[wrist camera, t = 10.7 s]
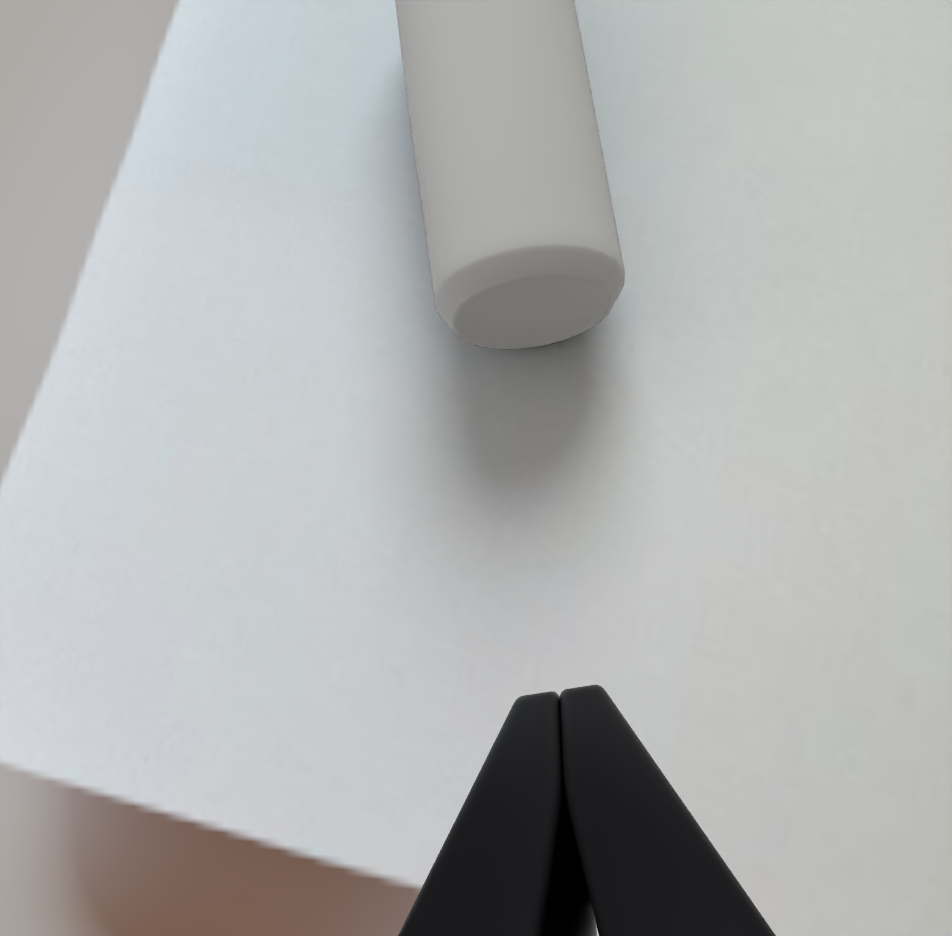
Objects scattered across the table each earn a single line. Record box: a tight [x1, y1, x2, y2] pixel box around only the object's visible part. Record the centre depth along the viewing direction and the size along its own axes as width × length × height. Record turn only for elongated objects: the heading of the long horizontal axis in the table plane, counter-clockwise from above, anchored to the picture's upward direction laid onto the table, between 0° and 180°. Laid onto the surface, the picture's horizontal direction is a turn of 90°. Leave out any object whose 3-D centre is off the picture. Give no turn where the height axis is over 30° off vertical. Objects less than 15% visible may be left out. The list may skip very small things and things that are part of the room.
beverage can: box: [395, 0, 624, 349], centre depth 24 cm, size 5×5×12 cm
